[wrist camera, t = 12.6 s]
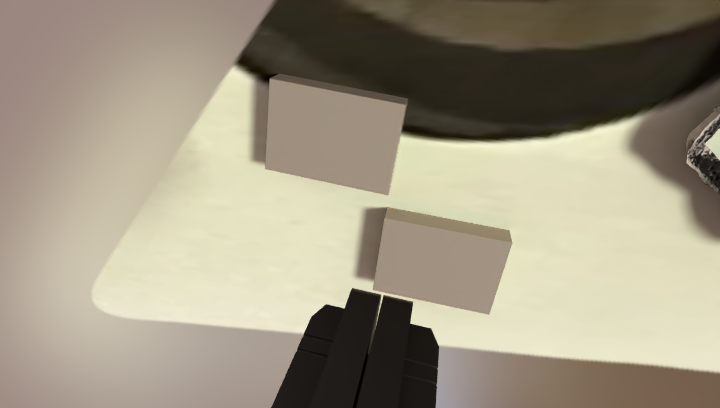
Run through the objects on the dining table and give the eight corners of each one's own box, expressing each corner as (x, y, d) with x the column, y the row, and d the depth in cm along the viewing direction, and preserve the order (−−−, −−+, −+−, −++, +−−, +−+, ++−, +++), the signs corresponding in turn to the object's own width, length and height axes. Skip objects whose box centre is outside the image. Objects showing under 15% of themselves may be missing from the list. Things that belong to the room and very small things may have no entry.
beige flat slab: (408, 97, 23) (281, 72, 24) (405, 105, 22) (269, 78, 22) (391, 182, 25) (275, 158, 26) (388, 195, 24) (265, 168, 25)
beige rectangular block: (508, 227, 25) (388, 204, 26) (512, 242, 24) (384, 218, 25) (486, 296, 28) (376, 273, 28) (489, 314, 26) (372, 289, 27)
